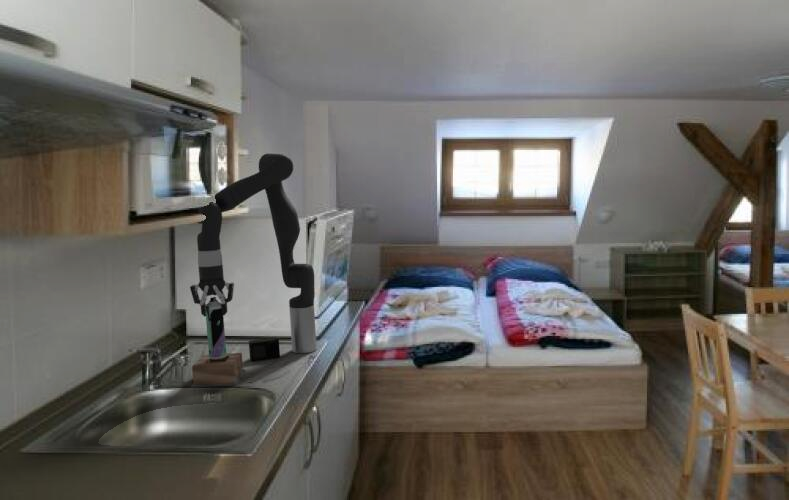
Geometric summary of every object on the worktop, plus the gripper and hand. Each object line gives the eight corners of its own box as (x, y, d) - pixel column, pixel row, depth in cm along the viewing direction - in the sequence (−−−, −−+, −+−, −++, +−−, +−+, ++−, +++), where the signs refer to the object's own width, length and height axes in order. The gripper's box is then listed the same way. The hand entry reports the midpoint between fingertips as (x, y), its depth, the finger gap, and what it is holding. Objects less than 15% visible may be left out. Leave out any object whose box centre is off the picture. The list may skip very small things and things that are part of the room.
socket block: (203, 374, 208) (201, 354, 207) (244, 371, 208) (243, 352, 208) (191, 387, 194) (190, 366, 193) (236, 385, 195) (234, 364, 194)
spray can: (221, 359, 197) (216, 298, 195) (206, 359, 198) (201, 298, 196) (229, 354, 202) (224, 295, 200) (214, 354, 204) (209, 295, 201)
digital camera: (252, 363, 219) (250, 344, 218) (249, 359, 224) (248, 340, 223) (280, 358, 223) (279, 340, 222) (277, 355, 228) (276, 336, 227)
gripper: (235, 261, 201) (239, 311, 203) (191, 263, 200) (195, 314, 202) (230, 264, 194) (234, 316, 195) (184, 266, 193) (189, 319, 195)
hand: (214, 315), depth 199 cm, fingers closed on spray can, 5 cm apart
